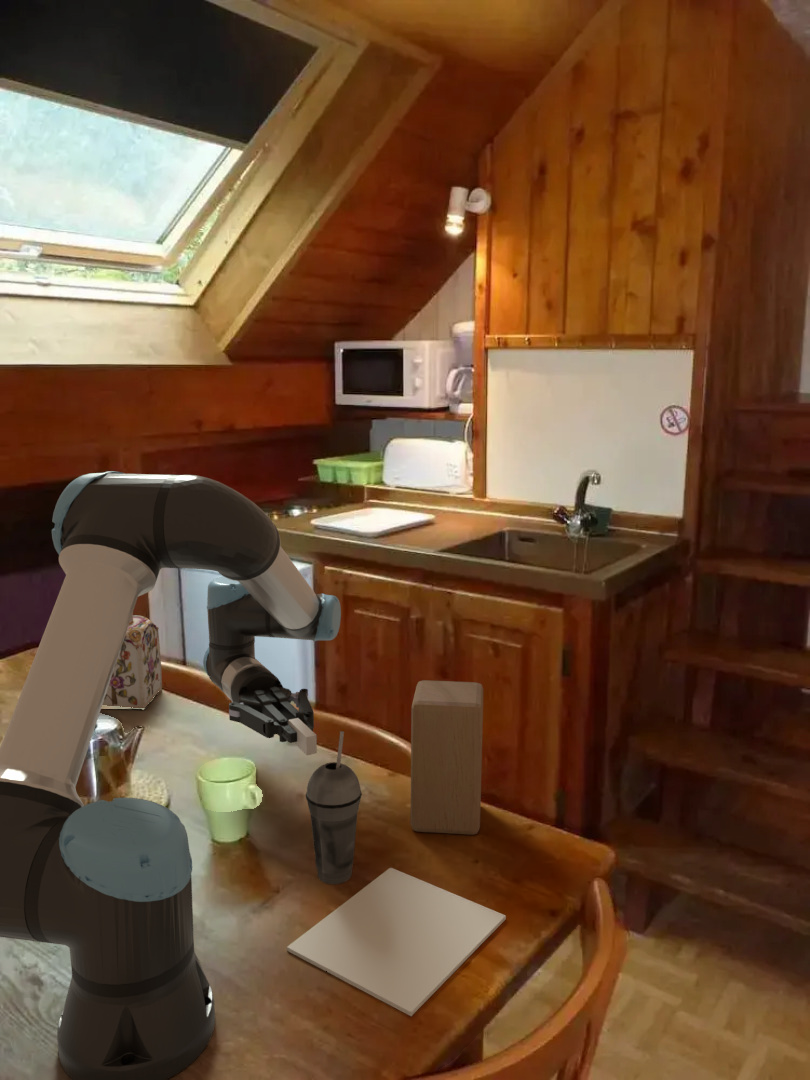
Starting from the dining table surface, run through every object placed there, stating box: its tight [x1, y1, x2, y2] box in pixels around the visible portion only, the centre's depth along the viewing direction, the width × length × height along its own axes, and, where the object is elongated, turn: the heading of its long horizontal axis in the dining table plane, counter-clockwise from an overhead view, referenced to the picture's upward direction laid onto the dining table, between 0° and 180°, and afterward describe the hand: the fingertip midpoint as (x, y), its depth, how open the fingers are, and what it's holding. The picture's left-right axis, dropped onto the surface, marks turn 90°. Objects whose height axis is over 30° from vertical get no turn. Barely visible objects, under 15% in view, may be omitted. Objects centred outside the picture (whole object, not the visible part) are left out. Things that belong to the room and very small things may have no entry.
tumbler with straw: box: [305, 730, 363, 885], centre depth 114 cm, size 7×7×20 cm
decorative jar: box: [102, 612, 163, 709], centre depth 173 cm, size 12×12×18 cm
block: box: [410, 679, 484, 836], centre depth 129 cm, size 10×10×20 cm
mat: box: [286, 867, 507, 1017], centre depth 104 cm, size 20×18×1 cm
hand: (311, 745), depth 120 cm, fingers closed
